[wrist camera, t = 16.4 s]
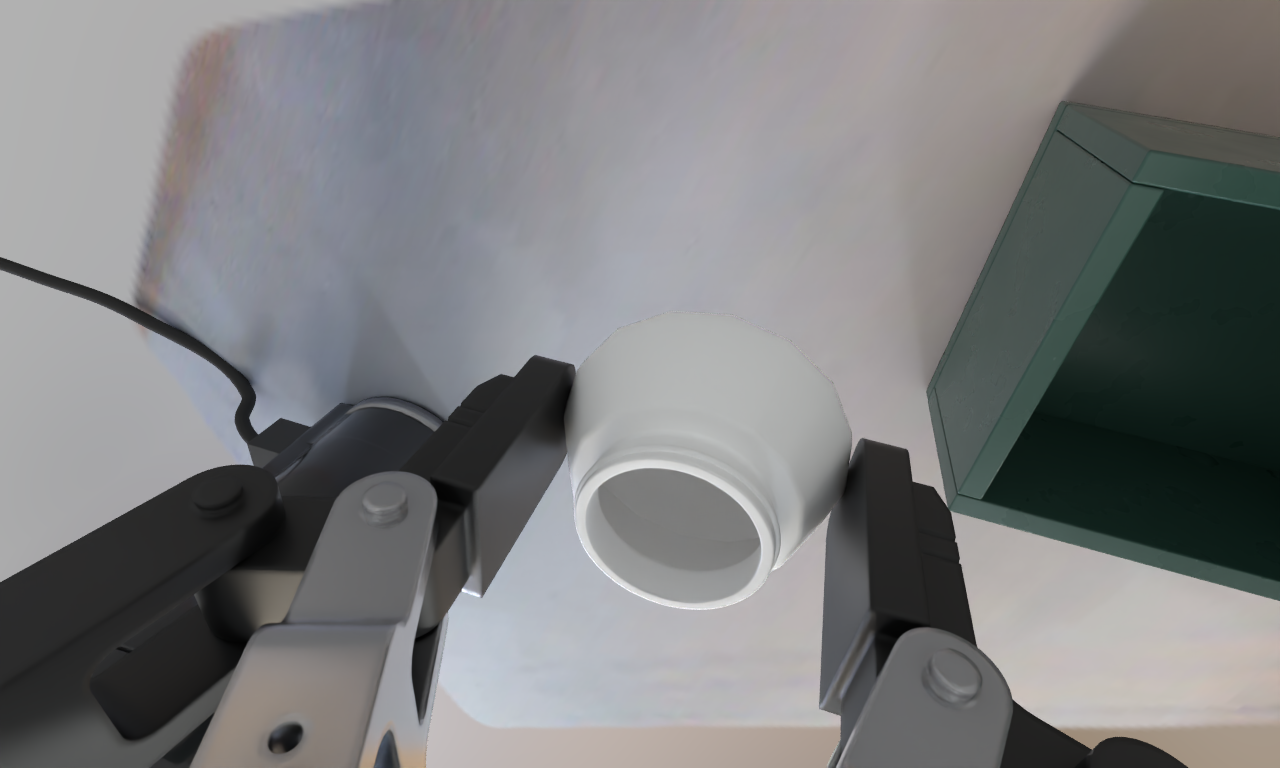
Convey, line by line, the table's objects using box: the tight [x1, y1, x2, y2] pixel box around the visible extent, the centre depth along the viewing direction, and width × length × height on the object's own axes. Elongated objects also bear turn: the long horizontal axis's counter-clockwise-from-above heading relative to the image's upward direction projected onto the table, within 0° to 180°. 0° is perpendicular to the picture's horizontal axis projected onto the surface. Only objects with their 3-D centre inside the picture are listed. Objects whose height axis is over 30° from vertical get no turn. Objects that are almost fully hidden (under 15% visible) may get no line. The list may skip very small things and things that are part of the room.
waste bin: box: [927, 101, 1280, 601], centre depth 20 cm, size 15×12×8 cm
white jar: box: [564, 311, 852, 610], centre depth 10 cm, size 5×3×5 cm
